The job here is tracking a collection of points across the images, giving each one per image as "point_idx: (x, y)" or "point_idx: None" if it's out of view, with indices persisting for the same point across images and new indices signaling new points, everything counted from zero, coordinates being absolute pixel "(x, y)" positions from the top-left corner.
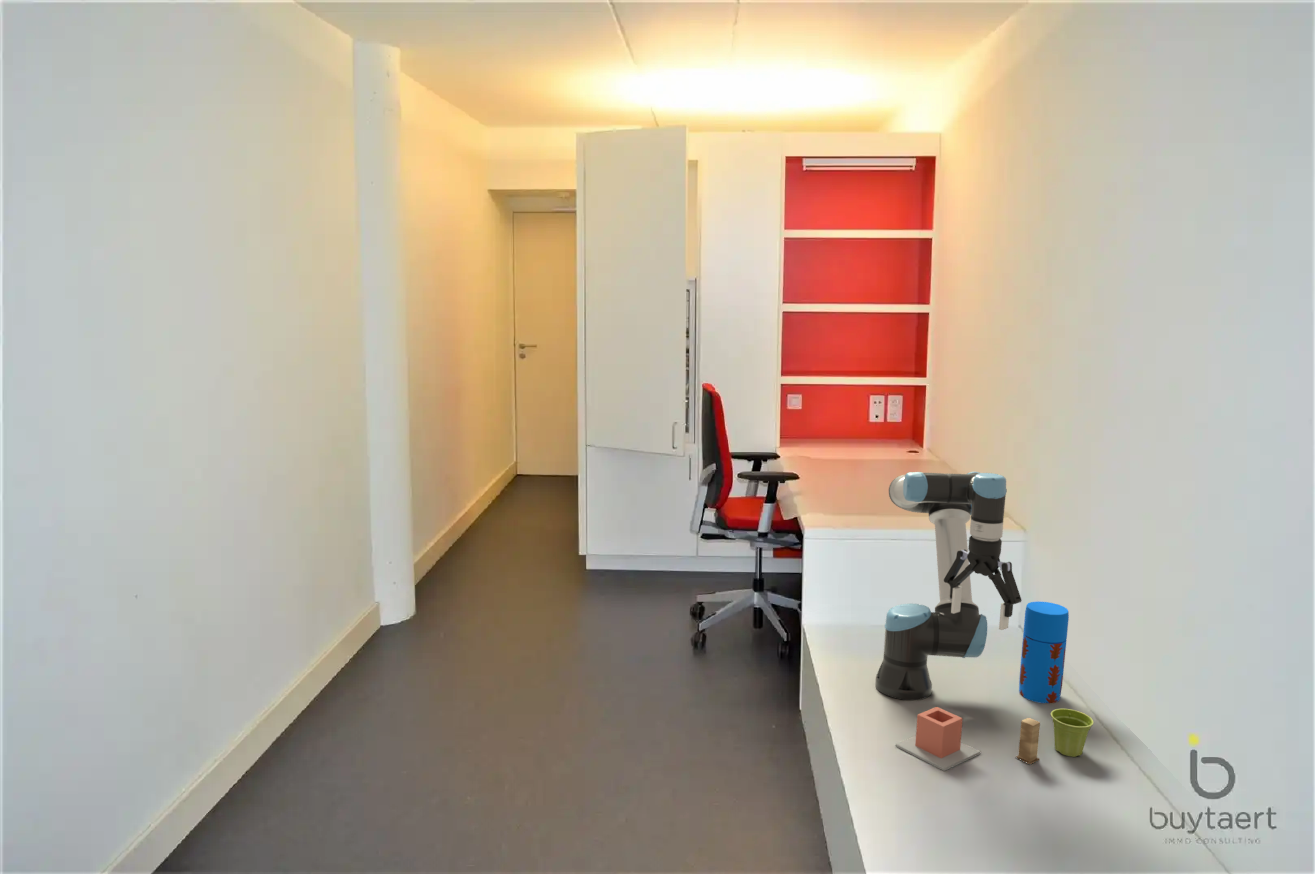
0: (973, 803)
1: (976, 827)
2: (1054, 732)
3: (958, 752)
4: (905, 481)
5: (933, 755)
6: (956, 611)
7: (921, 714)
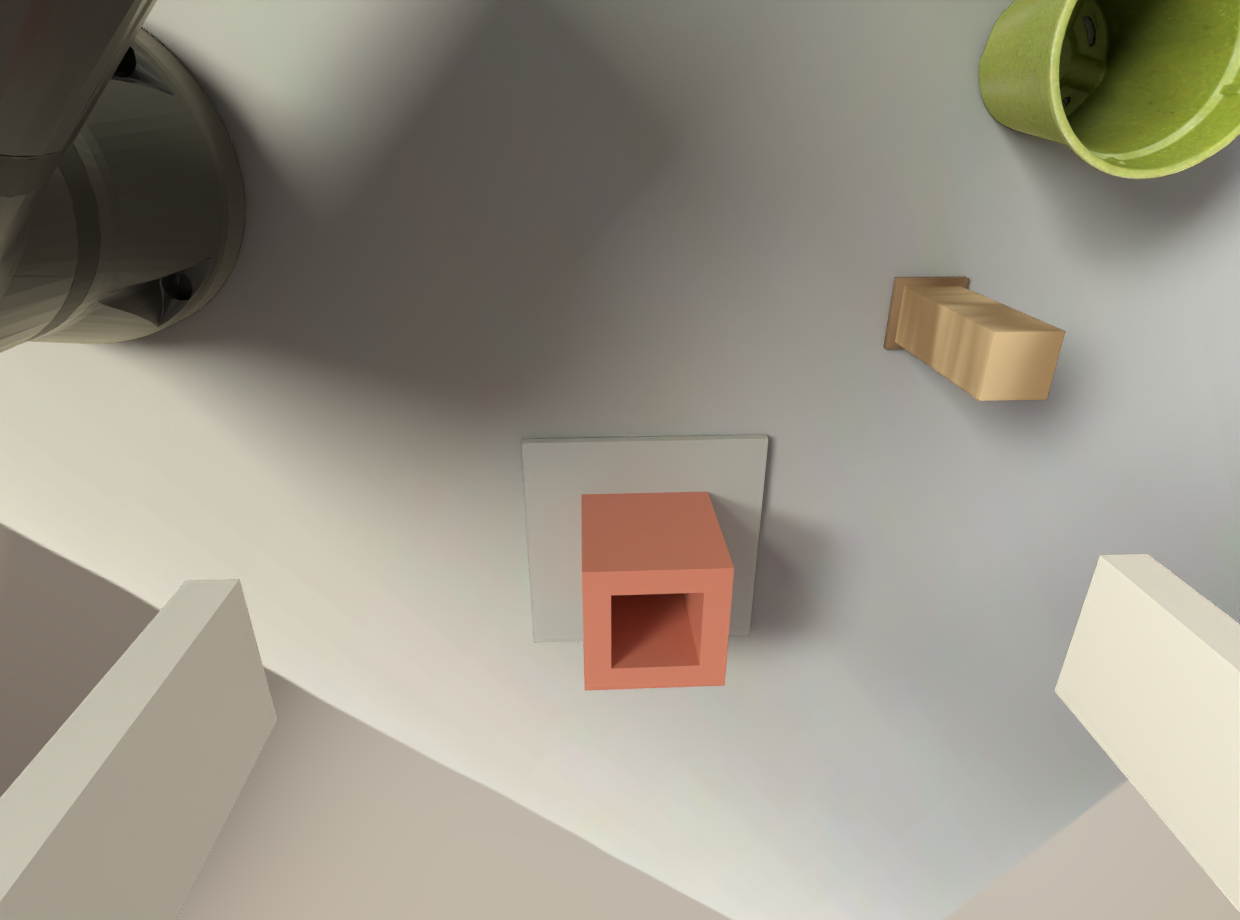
0: (909, 694)
1: (968, 766)
2: (1028, 118)
3: (717, 514)
4: None
5: None
6: (251, 674)
7: (594, 677)
